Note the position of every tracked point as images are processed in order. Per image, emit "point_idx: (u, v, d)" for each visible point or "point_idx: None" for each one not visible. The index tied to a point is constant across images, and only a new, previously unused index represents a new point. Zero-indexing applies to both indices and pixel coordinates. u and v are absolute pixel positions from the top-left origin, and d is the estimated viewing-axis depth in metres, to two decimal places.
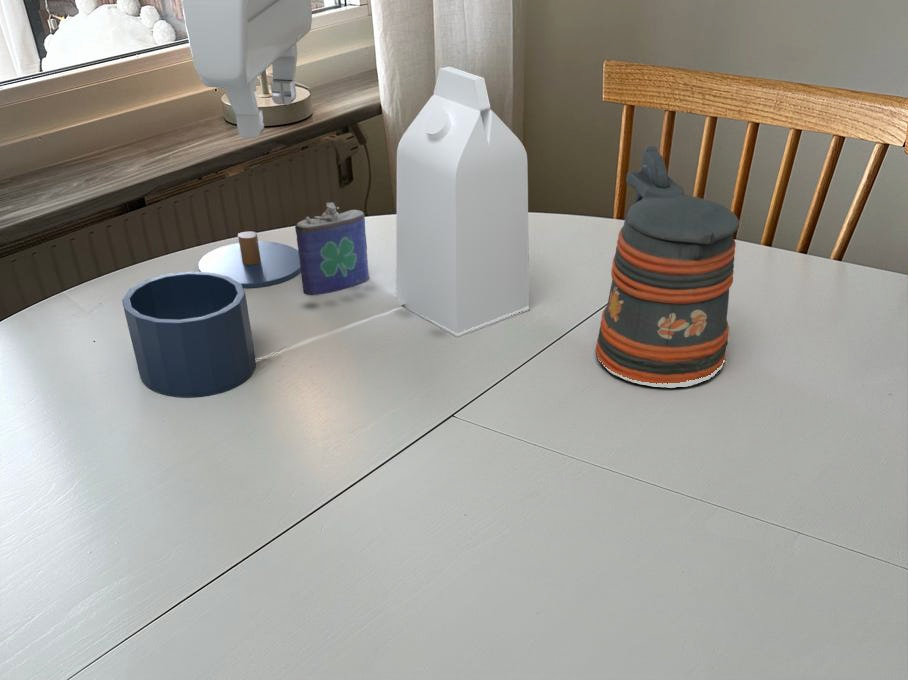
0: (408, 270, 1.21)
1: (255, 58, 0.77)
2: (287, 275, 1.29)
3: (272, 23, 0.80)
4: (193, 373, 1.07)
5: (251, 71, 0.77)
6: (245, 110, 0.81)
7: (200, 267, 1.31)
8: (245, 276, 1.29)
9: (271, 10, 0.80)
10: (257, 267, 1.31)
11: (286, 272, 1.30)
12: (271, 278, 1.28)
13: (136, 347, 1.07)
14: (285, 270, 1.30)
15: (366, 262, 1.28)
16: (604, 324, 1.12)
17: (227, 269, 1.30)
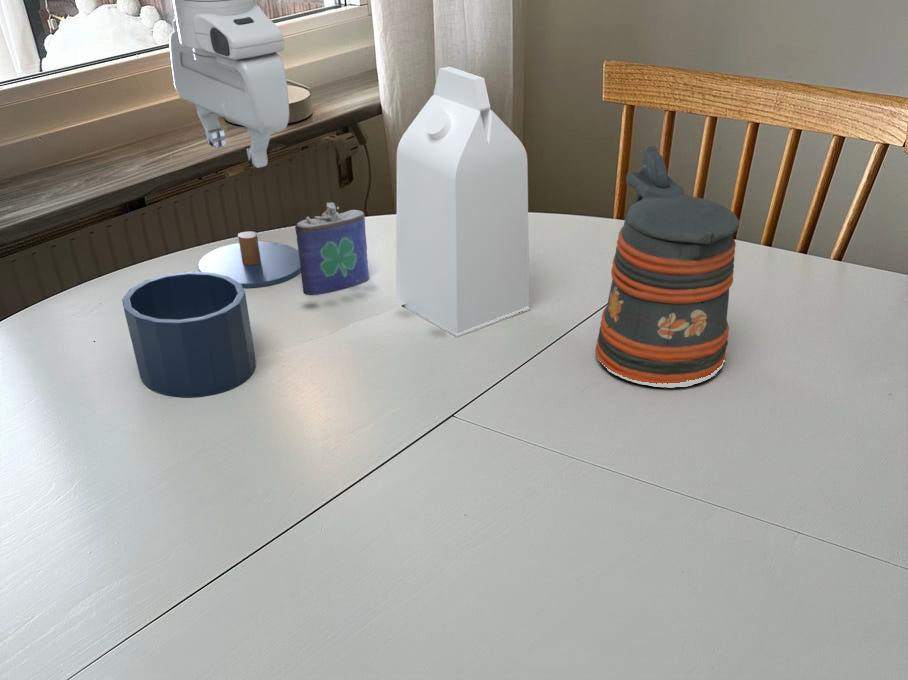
0: (408, 270, 1.21)
1: None
2: (287, 275, 1.29)
3: None
4: (193, 373, 1.07)
5: None
6: (261, 147, 1.17)
7: (200, 267, 1.31)
8: (245, 276, 1.29)
9: None
10: (257, 267, 1.31)
11: (286, 272, 1.30)
12: (271, 278, 1.28)
13: (136, 347, 1.07)
14: (285, 270, 1.30)
15: (366, 262, 1.28)
16: (604, 324, 1.12)
17: (227, 269, 1.30)
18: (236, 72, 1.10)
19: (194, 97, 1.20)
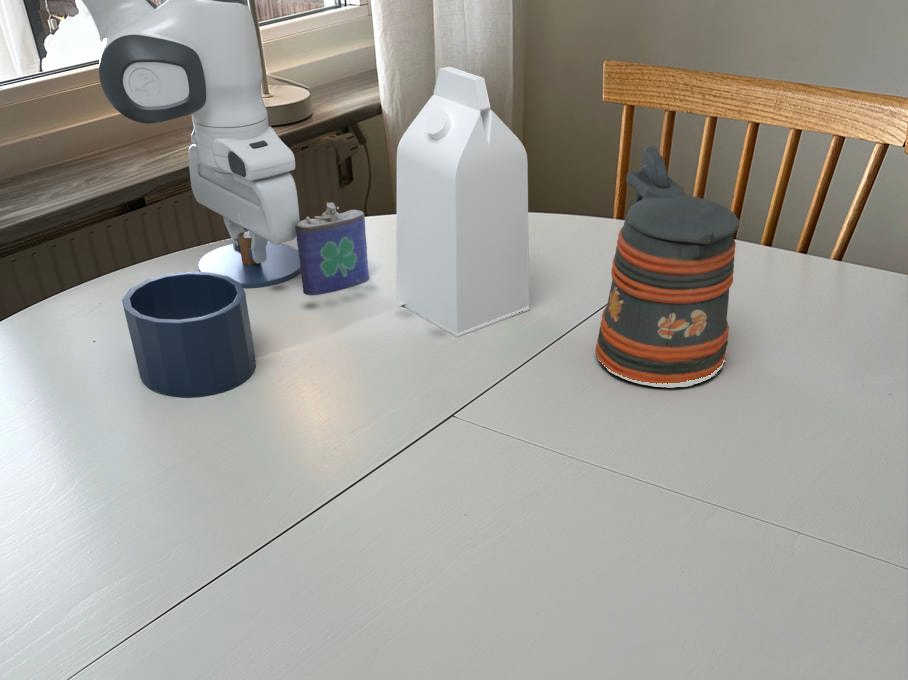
0: (408, 270, 1.21)
1: None
2: (287, 275, 1.29)
3: None
4: (193, 373, 1.07)
5: None
6: (261, 246, 1.29)
7: (200, 267, 1.31)
8: (245, 276, 1.29)
9: None
10: (257, 267, 1.31)
11: (286, 272, 1.30)
12: (271, 278, 1.28)
13: (136, 347, 1.07)
14: (285, 270, 1.30)
15: (366, 262, 1.28)
16: (604, 324, 1.12)
17: (227, 269, 1.30)
18: (251, 189, 1.20)
19: (211, 204, 1.30)
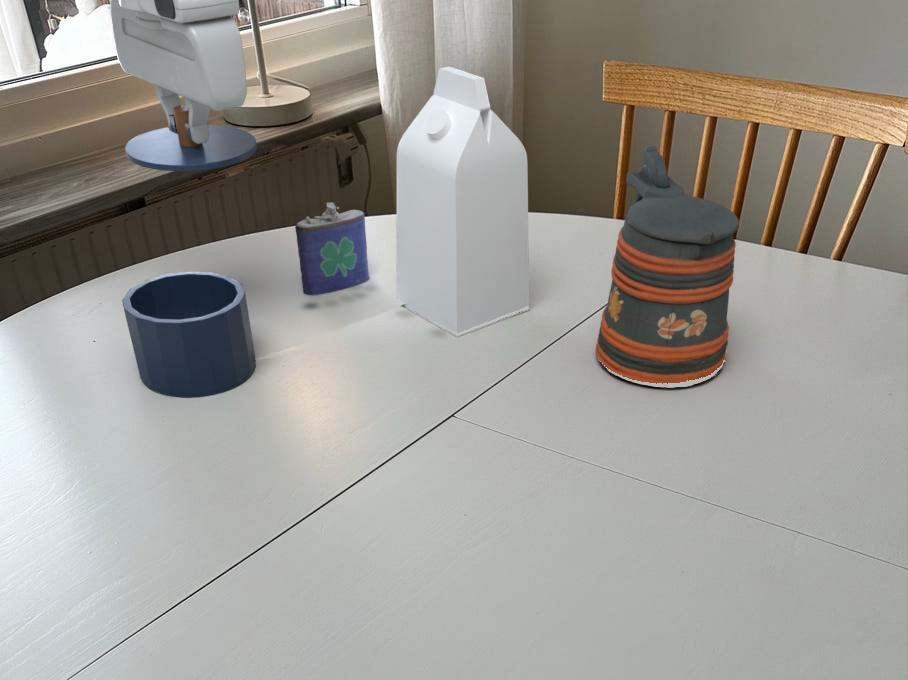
0: (408, 270, 1.21)
1: None
2: (234, 157, 1.05)
3: None
4: (193, 373, 1.07)
5: None
6: (201, 120, 1.04)
7: (127, 149, 1.06)
8: (182, 158, 1.04)
9: None
10: (198, 149, 1.06)
11: (233, 154, 1.05)
12: (214, 160, 1.04)
13: (136, 347, 1.07)
14: (232, 152, 1.06)
15: (366, 262, 1.28)
16: (604, 324, 1.12)
17: (160, 151, 1.06)
18: (184, 38, 0.96)
19: (139, 70, 1.05)
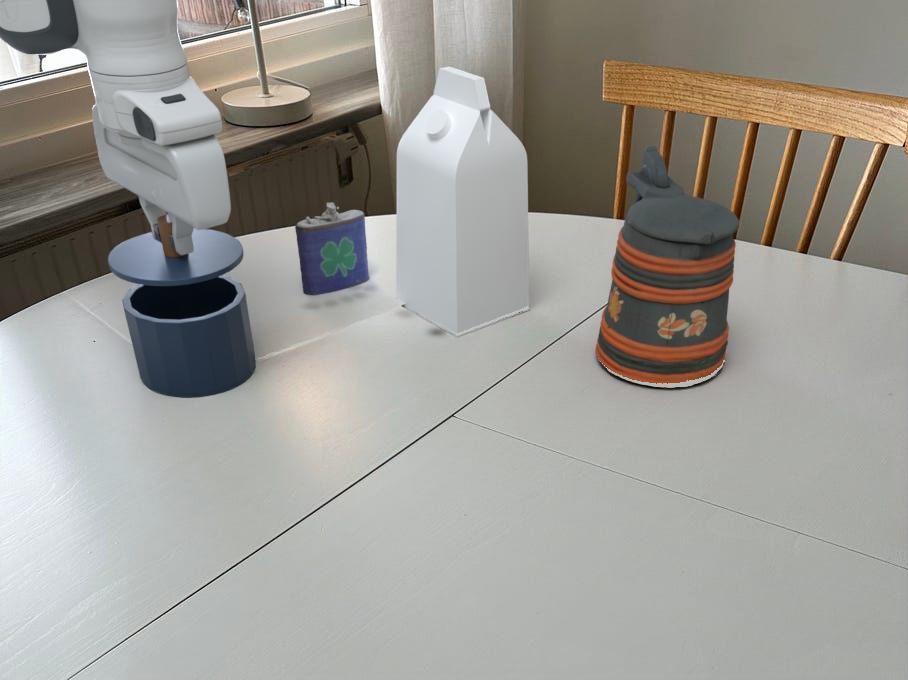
0: (408, 270, 1.21)
1: None
2: (219, 270, 1.01)
3: None
4: (193, 373, 1.07)
5: None
6: (185, 233, 1.01)
7: (110, 260, 1.03)
8: (165, 271, 1.01)
9: None
10: (182, 260, 1.03)
11: (218, 266, 1.02)
12: (198, 274, 1.00)
13: (136, 347, 1.07)
14: (217, 264, 1.02)
15: (366, 262, 1.28)
16: (604, 324, 1.12)
17: (144, 262, 1.02)
18: (166, 158, 0.93)
19: (122, 180, 1.02)
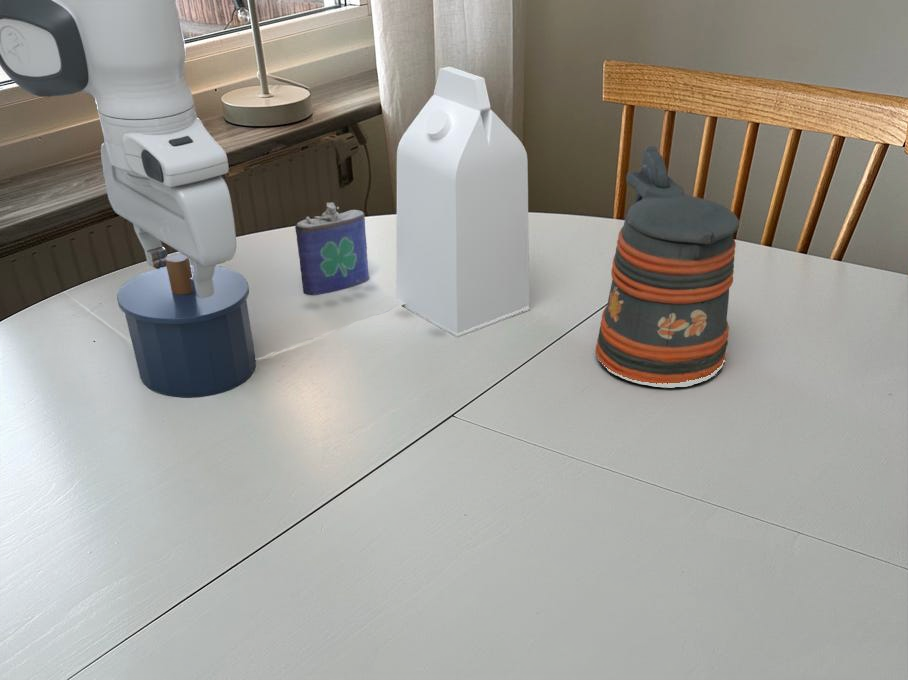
0: (408, 270, 1.21)
1: None
2: (225, 308, 1.04)
3: None
4: (193, 373, 1.07)
5: None
6: (206, 277, 1.02)
7: (119, 297, 1.06)
8: (173, 309, 1.04)
9: None
10: (190, 297, 1.06)
11: (225, 304, 1.05)
12: (205, 312, 1.03)
13: (136, 347, 1.07)
14: (223, 301, 1.05)
15: (366, 262, 1.28)
16: (604, 324, 1.12)
17: (152, 300, 1.05)
18: (173, 198, 0.95)
19: (130, 216, 1.04)
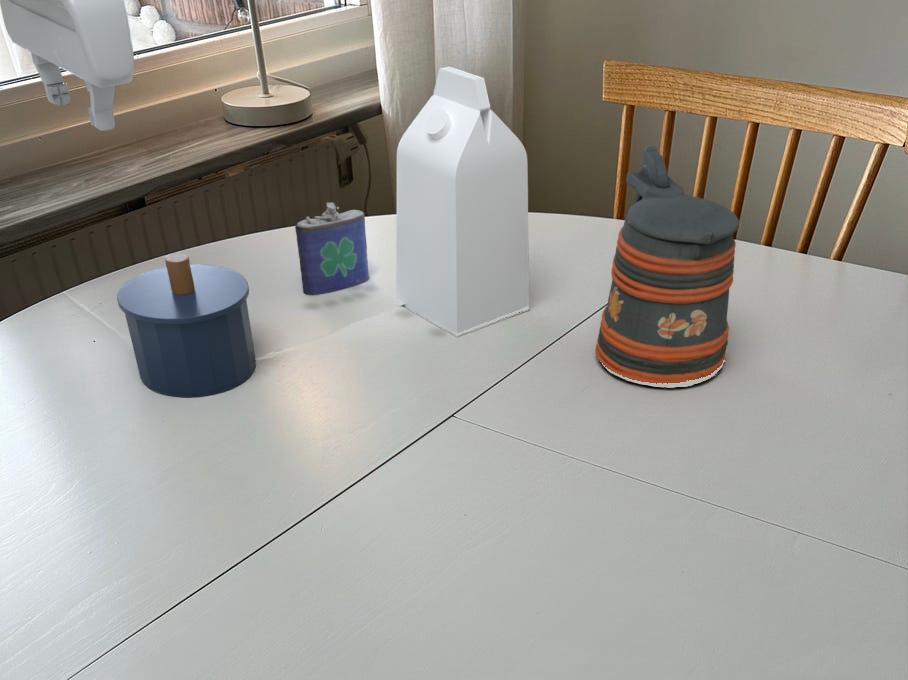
0: (408, 270, 1.21)
1: None
2: (225, 308, 1.04)
3: None
4: (193, 373, 1.07)
5: None
6: (105, 106, 0.94)
7: (119, 297, 1.06)
8: (173, 309, 1.04)
9: None
10: (190, 297, 1.06)
11: (225, 304, 1.05)
12: (205, 312, 1.03)
13: (136, 347, 1.07)
14: (223, 301, 1.05)
15: (366, 262, 1.28)
16: (604, 324, 1.12)
17: (152, 300, 1.05)
18: (63, 7, 0.87)
19: (26, 42, 0.97)
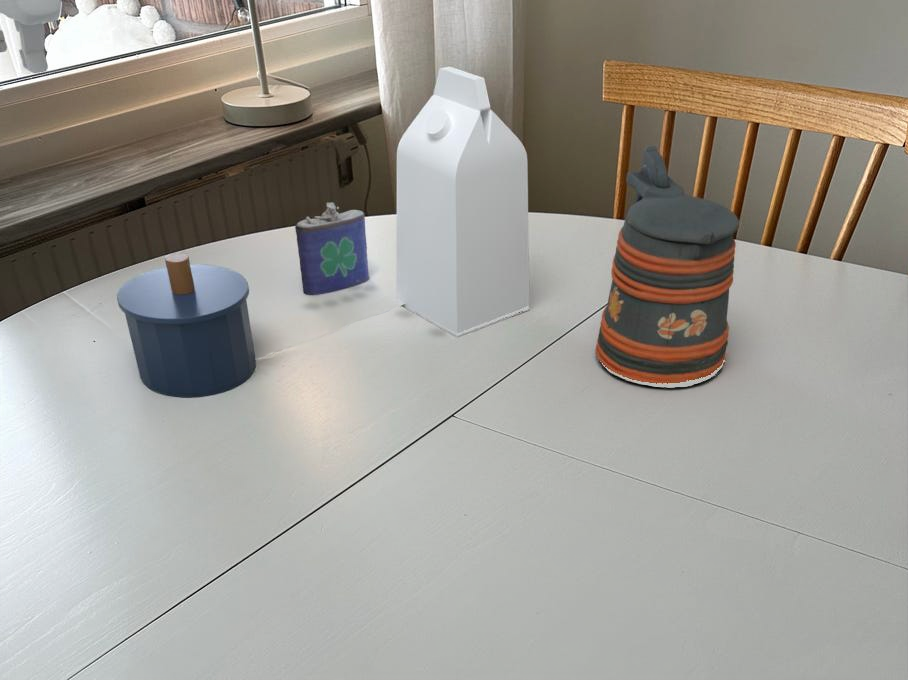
0: (408, 270, 1.21)
1: None
2: (225, 308, 1.04)
3: None
4: (193, 373, 1.07)
5: None
6: (36, 47, 0.94)
7: (119, 297, 1.06)
8: (173, 309, 1.04)
9: None
10: (190, 297, 1.06)
11: (225, 304, 1.05)
12: (205, 312, 1.03)
13: (136, 347, 1.07)
14: (223, 301, 1.05)
15: (366, 262, 1.28)
16: (604, 324, 1.12)
17: (152, 300, 1.05)
18: None
19: None
